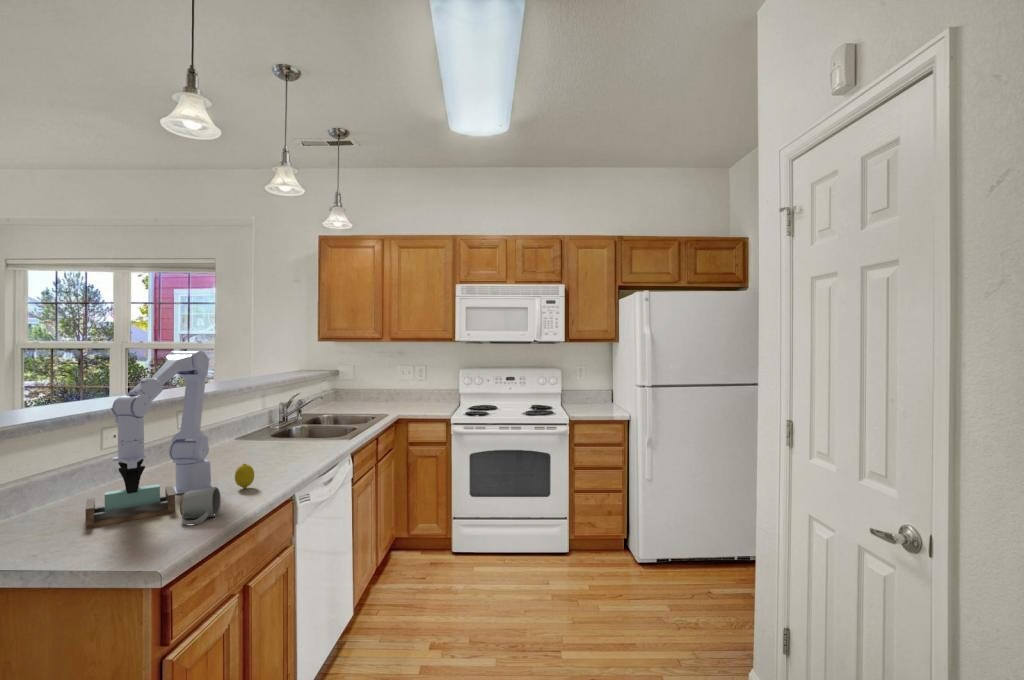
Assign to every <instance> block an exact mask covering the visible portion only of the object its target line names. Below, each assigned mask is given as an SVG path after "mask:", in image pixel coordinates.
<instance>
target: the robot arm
mask: <svg viewBox="0 0 1024 680" xmlns="http://www.w3.org/2000/svg"><path fill="white" fill-rule="evenodd" d="M164 362H165V363H163V364H162V366H160V368H159V369H158V370H157V371H156V372H155V373H154V374H153V376H152V377H145V378H141V379H140V380H139V383H138V384H137V385H135V387H134V388H132V389H130V390H129V392H128V393H126V395H122V396H121V395H120V396H119V397H117V398H116V399H115V400H114V401H113V402H112V403H113V404H112V406H111V407H110V412H111V413H112V415H113V417H114V423H116V424H117V456H114V457H112V462H118V464H117V465H119V468H118V472H119V474H120V475H121V477H122V479H123V483H124V486H125V489H126V491H127V494H130V493H136V492H137V491H138V487H140V481H141V478H142V475H143V472H144V471H145V468H146V466H145V465H143V463H144V459H145V458H146V454H145V424H144V423H145V420H144V419H145V415H147V414H148V412H149V410H150V407H151V405H152V402H153V401H154V400H155V399H156V398H157V397H158V396H159V395H160V394H161V393H162V392H163V389H164V388H163V385H165V384H166V383H167V382H169V380H171V379H172V378H173V377H175V376H176V375H178V376H179V377H182V378H183V380H184V381H185V389H184V399H183V407H182V414H181V415H182V416H181V424H180V430H179V431H178V432H177V433H175V434H174V435H173V436H172V437H171V438H172V439H171V444H170V445H169V447H168V457H169V458H170V460H172V462H173V463H172V464H175V486H172V487H173V490H174V493H175V495H181V494H184V493H185V492H188V491H192V490H200V489H206V488H212V484H211V483H212V478H211V475H212V474H211V473H212V471H211V461H210V459H209V458H207V456H208V454H209V452H210V446H209V436H208V435H206V434H205V433H204V432H202V431H201V425H202V417H203V415H202V414H203V408H204V407H203V405H204V399H205V398H204V396H205V388H206V379H207V376H208V372H209V362H210V357H209V356H208V354H207V353H206V352H205V351H204V350H196V351H195V350H191V351H190V350H188V351H187V350H186V351H185V350H181V351H180V350H172V351H170V352H169V354H167V355H166V356H165V361H164ZM206 458H207V459H206Z"/></svg>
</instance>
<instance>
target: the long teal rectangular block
mask: <svg viewBox="0 0 1024 680" xmlns="http://www.w3.org/2000/svg"><path fill="white" fill-rule="evenodd" d="M160 497H161V485H160V483H158V484H157V483H156V484H151V485H145V486H144V485H143V486H139V487H138V491H137V492H136V493H130V494H127V491H126V488H124V489H117V490H111V491H105V492H104V506H105V511H111V510H117V509H123V508H129V507H135V506H141V505H146V504H152V503H158V502H160Z"/></svg>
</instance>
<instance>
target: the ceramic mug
mask: <svg viewBox="0 0 1024 680" xmlns="http://www.w3.org/2000/svg"><path fill="white" fill-rule="evenodd" d="M221 498H222V497H221V492H220V489H219V488H218V487H217V486H213V487H211V488H206V489H200V490H192V491H188V492H185V493H182V495H181V497H180V501H179V512H180V513H179V514H180V516H181V522H182V523H183V525H185V524H197V523H199V524H202V523H203V522H204V521H205V520H206V519H207V518H215V517H216V515H217V514H219V513H220V509H221V502H222V501H221ZM214 514H215V515H214ZM214 516H215V517H214ZM217 516H218V515H217ZM187 518H189V519H190V518H192V519H194V520H189V519H188V520H186V519H187ZM197 525H198V524H197Z"/></svg>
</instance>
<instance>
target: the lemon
mask: <svg viewBox="0 0 1024 680" xmlns="http://www.w3.org/2000/svg"><path fill="white" fill-rule="evenodd" d="M254 480H255V471H254V468H253V467H252V466H251V465H249V464H247V463H243V464H242V465H240V466H238V467H237V468H236V471H235V474H234V481H235V483H236V485H237V486H238V487H240V488H242V489H244V488H245V489H247V488H248V487H249V486H250V485H252V484H253V482H254Z"/></svg>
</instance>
